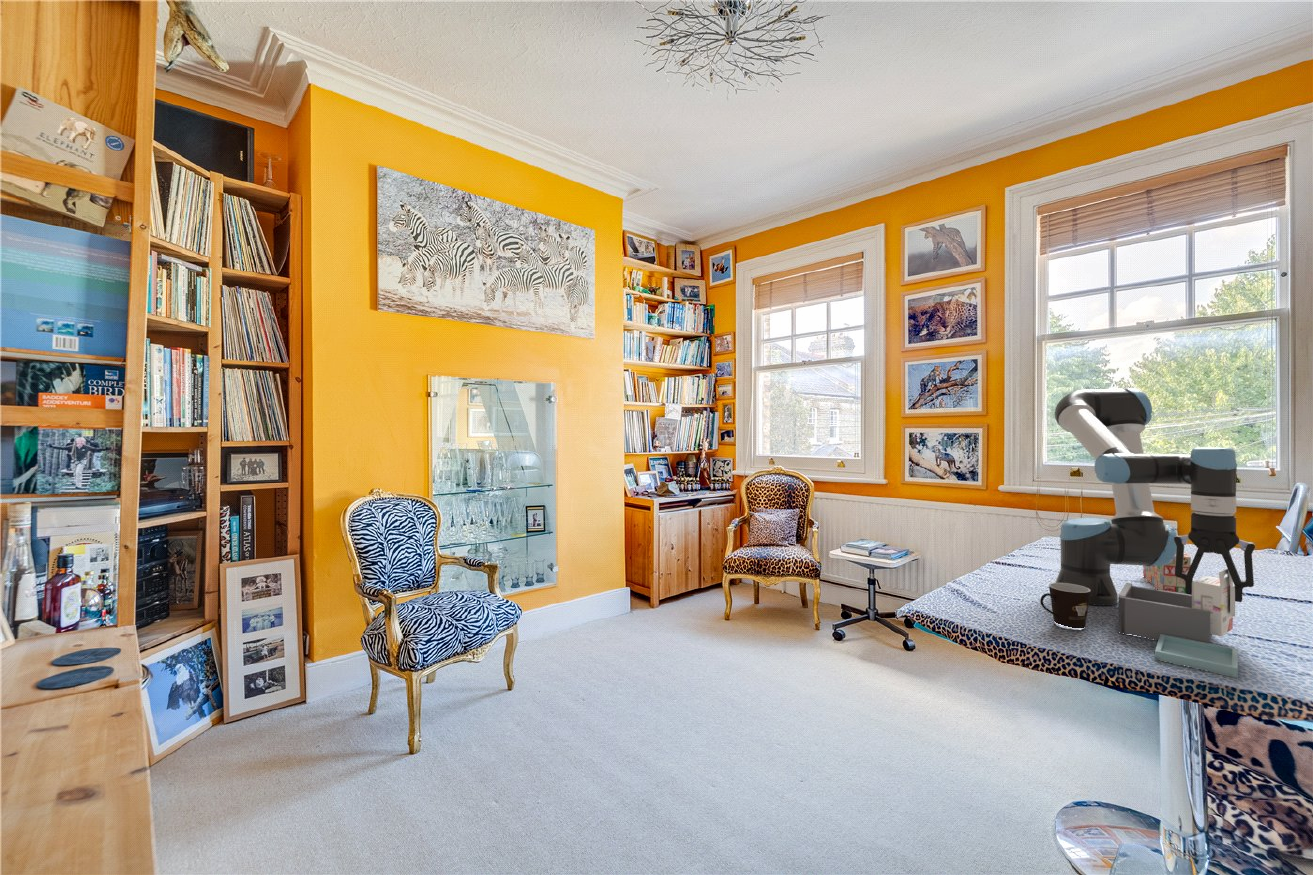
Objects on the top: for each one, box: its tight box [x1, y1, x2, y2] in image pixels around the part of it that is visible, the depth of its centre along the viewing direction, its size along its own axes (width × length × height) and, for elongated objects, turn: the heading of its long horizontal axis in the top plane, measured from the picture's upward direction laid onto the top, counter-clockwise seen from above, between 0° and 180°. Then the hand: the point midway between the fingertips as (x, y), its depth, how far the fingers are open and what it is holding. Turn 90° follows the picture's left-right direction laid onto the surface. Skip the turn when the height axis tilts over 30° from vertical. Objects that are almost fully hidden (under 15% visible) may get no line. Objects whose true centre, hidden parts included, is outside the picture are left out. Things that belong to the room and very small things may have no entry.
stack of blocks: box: [1142, 552, 1192, 594], centre depth 175 cm, size 21×6×12 cm, turn 151°
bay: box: [1117, 582, 1213, 644], centre depth 137 cm, size 16×14×10 cm
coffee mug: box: [1039, 582, 1091, 628], centre depth 144 cm, size 12×9×10 cm
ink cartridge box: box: [1193, 568, 1234, 637], centre depth 130 cm, size 9×5×15 cm, turn 121°
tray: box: [1154, 634, 1239, 679], centre depth 123 cm, size 13×14×2 cm
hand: (1213, 611), depth 131 cm, fingers closed on ink cartridge box, 6 cm apart
